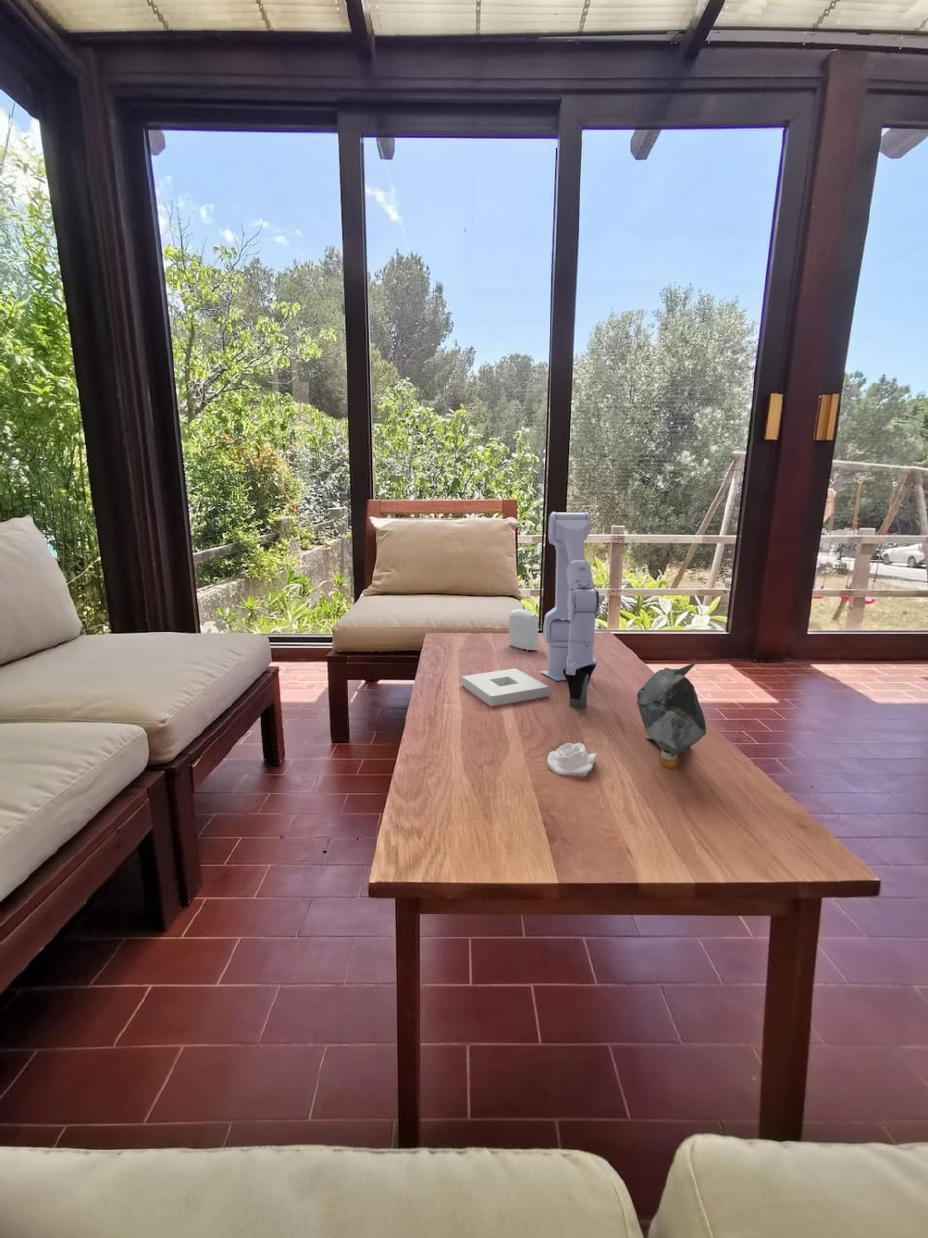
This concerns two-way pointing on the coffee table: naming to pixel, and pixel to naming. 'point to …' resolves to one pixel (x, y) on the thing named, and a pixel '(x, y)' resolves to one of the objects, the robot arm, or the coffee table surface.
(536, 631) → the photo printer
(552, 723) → the coffee table surface
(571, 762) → the rose
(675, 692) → the grey rock on stand
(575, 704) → the peg
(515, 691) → the socket block
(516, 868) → the coffee table surface
